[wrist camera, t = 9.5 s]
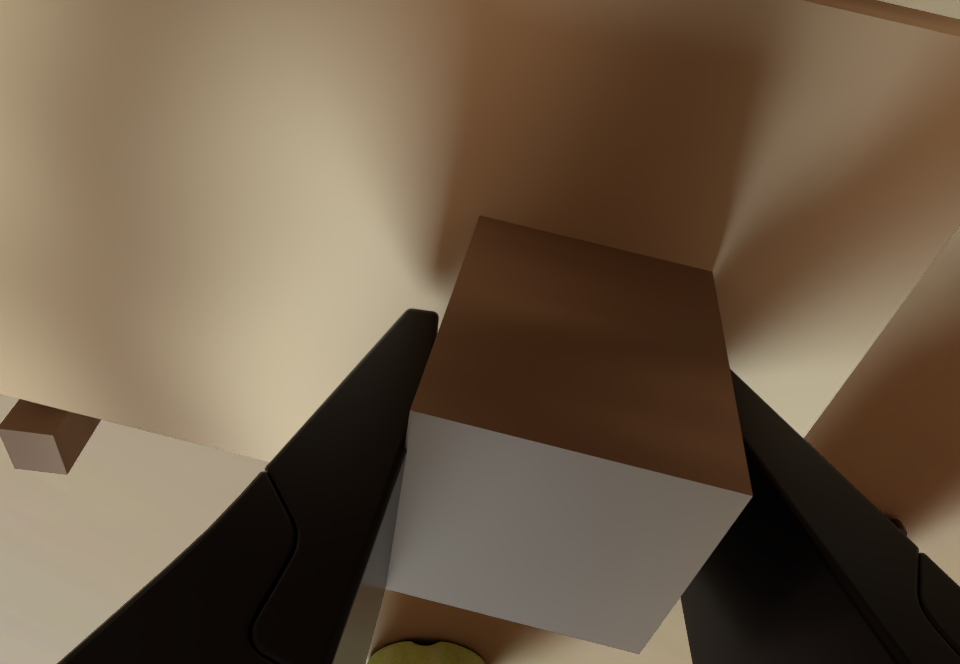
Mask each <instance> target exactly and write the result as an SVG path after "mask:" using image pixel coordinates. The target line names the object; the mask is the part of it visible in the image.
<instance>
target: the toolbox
mask: <svg viewBox="0 0 960 664" xmlns="http://www.w3.org/2000/svg"><path fill="white" fill-rule="evenodd" d="M100 421H101V419H97V418H93V417H89V416H85V415H81V414H77V413H73V412H69V411H66V410H62V409H58V408H54V407H50V406H46V405H42V404H38V403H34V402H30V401H26V400H22V399H19V401H18V402H17V403H16V405H15V406H14V407H13V408H12V410H11V411H10V412H9V414H8V415H7V416H6V418H5V419H4V420H3V422H2V423H1V424H0V436H1V438H2V441H3V443H4V445H5V448H6V450H7V452H8V454H9V457H10V459H11V461H12V463H13V466H14V468H15V469H23V470H32V471H40V472H49V473H57V474H65V475H67V474H68V473H69V471H70V469H71V468H72V466H73V464H74V463H75V461H76V460H77V458H78V456H79V455H80V453H81V451H82V450H83V448H84V447H85V445H86V443H87V442H88V440H89V438H90V437H91V435H92V434H93V432H94V430H95V429H96V427H97V425H98V424H99V422H100Z"/></svg>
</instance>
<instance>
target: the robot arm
mask: <svg viewBox="0 0 960 664" xmlns="http://www.w3.org/2000/svg"><path fill="white" fill-rule="evenodd" d="M438 323H439V315H438V313H436V312H434V311H428V310H422V309H415V308H409V309H407V310H406V311H405V312H404V313H403V314H402V315H401V316H400V317H399V319H398V320H397V321H396V322H395V323H394V324H393V325H392V326H391V327H390V329H389V330H388V331H387V332H386V333H385V334H384V335H383V336H382V337H381V339H380V340H379V341H378V342H377V343H376V344H375V345H374V346H373V348H372V349H371V350H370V351H369V352H368V353H367V354H366V355H365V356H364V358H363V359H362V360H361V361H360V362H359V363H358V364H357V365H356V367H355V368H354V369H353V370H352V371H351V372H350V373H349V374H348V375H347V377H346V378H345V379H344V380H343V381H342V382H341V383H340V384H339V385H338V387H337V388H336V389H335V390H334V391H333V392H332V393H331V394H330V396H329V397H328V398H327V399H326V400H325V401H324V402H323V403H322V404H321V406H320V407H319V408H318V409H317V410H316V411H315V412H314V413H313V415H312V416H311V417H310V418H309V419H308V420H307V421H306V422H305V423H304V425H303V426H302V427H301V428H300V429H299V430H298V431H297V432H296V434H295V435H294V436H293V437H292V438H291V439H290V440H289V441H288V442H287V444H286V445H285V446H284V447H283V448H282V449H281V450H280V451H279V452H278V454H277V455H276V456H275V457H274V458H273V459H272V460H271V461H270V463H269V464H268V465H267V466H266V467H265V472H264V471H262V472H260V473H259V474H258V475H257V477H256V478H255V479H254V480H253V481H252V482H251V483H250V484H249V486H248V487H247V488H246V489H245V490H244V491H243V492H242V493H241V495H240V496H239V497H238V498H237V499H236V500H235V501H234V502H233V503H232V504H231V505H230V506H229V507H228V508H227V509H226V510H225V511H224V512H223V513H222V514H221V515H220V516H219V518H218V519H217V520H216V521H215V522H214V523H213V524H212V525H211V526H210V527H209V528H208V529H207V530H206V531H205V532H204V533H203V534H202V535H201V536H199V537H198V538H197V539H196V540H195V541H194V542H193V543H192V544H191V545H190V546H189V547H188V548H187V549H185V550H184V551H183V552H182V553H181V554H180V555H179V556H178V557H177V558H176V559H175V560H174V561H173V562H171V563H170V564H169V565H168V566H167V567H166V568H165V569H164V570H163V571H161V572H160V573H159V574H158V575H157V576H156V577H155V578H154V579H152V580H151V581H150V582H149V583H148V584H147V585H146V586H144V587H143V588H142V589H141V590H140V591H139V592H138V593H137V594H135V595H134V596H133V597H132V598H131V599H130V600H129V601H127V602H126V603H125V604H124V605H123V606H122V607H121V608H120V609H118V610H117V611H116V612H115V613H114V614H113V615H112V616H110V617H109V618H108V619H107V620H106V621H105V622H104V623H103V624H101V625H100V626H99V627H98V628H97V629H96V630H95V631H93V632H92V633H91V634H90V635H89V636H88V637H87V638H86V639H84V640H83V641H82V642H81V643H80V644H79V645H78V646H77V647H75V648H74V649H73V650H72V651H71V652H70V653H69V654H67V655H66V656H65V657H64V658H63V659H62V660H61V661H60V662H58V663H57V664H365V663H366V659H367V655H368V652H369V648H370V644H371V640H372V637H373V633H374V629H375V626H376V622H377V618H378V614H379V611H380V607H381V603H382V599H383V596H384V592H385V588H386V583H387V576H388V570H389V563H390V557H391V551H392V544H393V538H394V531H395V525H396V519H397V512H398V506H399V499H400V493H401V487H402V480H403V474H404V467H405V461H406V455H407V450H406V449H405V448H404V447H405V440H406V433H407V427H408V420H409V414H410V409H411V406H412V403H413V401H414V398H415V395H416V392H417V389H418V387H419V384H420V381H421V378H422V375H423V373H424V370H425V367H426V364H427V361H428V359H429V356H430V353H431V350H432V347H433V345H434V342H435V339H436V336H437V333H438ZM730 372H731V377H732V383H733V388H734V394H735V400H736V405H737V411H738V416H739V422H740V427H741V433H742V438H743V444H744V450H745V455H746V461H747V466H748V472H749V477H750V483H751V489H752V494H753V497H752V498H751V499H750V501H749V502H748V504H747V505H746V506H745V508H744V509H743V511H742V512H741V513H740V515H739V516H738V518H737V519H736V520H735V522H734V523H733V524H732V526H731V527H730V529H729V530H728V531H727V533H726V534H725V536H724V537H723V538H722V540H721V541H720V543H719V544H718V545H717V547H716V548H715V550H714V551H713V552H712V554H711V555H710V556H709V558H708V559H707V561H706V562H705V563H704V565H703V566H702V568H701V569H700V570H699V572H698V573H697V575H696V576H695V577H694V579H693V580H692V582H691V583H690V584H689V586H688V587H687V588H686V590H685V591H684V593H683V594H682V595H681V602H682V608H683V613H684V619H685V624H686V630H687V635H688V641H689V646H690V652H691V657H692V663H693V664H960V586H959V585H957V584H956V583H955V582H954V581H953V580H952V579H951V578H950V577H949V576H948V575H947V574H946V573H945V572H944V571H943V570H942V569H940V568H939V567H938V566H937V565H936V564H935V563H934V562H933V561H932V560H931V559H930V558H929V557H928V556H927V555H926V554H924V553H919V549H918V547H917V546H916V545H915V544H914V543H913V542H912V541H911V540H910V539H909V538H908V537H907V531H906V529H905V528H904V526H903V524H902V522H901V521H899V520H896V519H889V518H887V517H886V516H885V515H884V514H882V513H881V512H880V511H879V510H878V509H877V508H876V507H875V506H874V505H873V504H872V503H871V502H870V501H869V500H868V499H867V498H866V497H865V496H864V495H863V494H861V493H860V492H859V491H858V490H857V489H856V488H855V487H854V486H853V485H852V484H851V483H850V482H849V481H848V480H847V479H846V478H845V477H844V476H843V475H842V474H840V473H839V472H838V471H837V470H836V469H835V468H834V467H833V466H832V465H831V464H830V463H829V462H828V461H827V460H826V459H825V458H824V457H823V456H822V455H821V454H819V453H818V452H817V451H816V450H815V449H814V448H813V447H812V446H811V445H810V444H809V443H808V442H807V441H806V440H805V439H804V438H803V437H802V436H801V435H799V434H798V433H797V432H796V431H795V430H794V429H793V428H792V427H791V426H790V425H789V424H788V423H787V422H786V421H785V420H784V419H783V418H782V417H781V416H780V415H778V414H777V413H776V412H775V411H774V410H773V409H772V408H771V407H770V406H769V405H768V404H767V403H766V402H765V401H764V400H763V399H762V398H761V397H760V396H759V395H757V394H756V393H755V392H754V391H753V390H752V389H751V388H750V387H749V386H748V385H747V384H746V383H745V382H744V381H743V380H742V379H741V378H740V377H739V376H737V375H736V374H735V373H734V372H733V371H732V370H731V369H730Z"/></svg>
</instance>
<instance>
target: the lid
mask: <svg viewBox="0 0 960 664" xmlns="http://www.w3.org/2000/svg"><path fill="white" fill-rule="evenodd" d="M959 226H960V19H955V18H951V17H947V16H942V15H938V14H933V13H929V12H925V11H920V10H916V9H912V8H907V7H903V6H899V5H894V4H890V3H886V2H881V1H877V0H0V394H2V395H6V396H10V397H14V398H18V399H22V400H26V401H30V402H34V403H38V404H42V405H46V406H50V407H54V408H58V409H62V410H66V411H69V412H73V413H77V414H81V415H85V416H89V417H93V418H97V419H101V420H105V421H109V422H113V423H117V424H121V425H125V426H129V427H133V428H137V429H140V430H144V431H148V432H152V433H156V434H160V435H164V436H168V437H172V438H176V439H180V440H184V441H188V442H192V443H196V444H200V445H204V446H208V447H211V448H215V449H219V450H223V451H227V452H231V453H235V454H239V455H243V456H247V457H251V458H255V459H259V460H263V461H267V462H270V461H271V460H272V459H273V458H274V457H275V456H276V455H277V454H278V452H279V451H280V450H281V449H282V448H283V447H284V446H285V445H286V444H287V442H288V441H289V440H290V439H291V438H292V437H293V436H294V435H295V434H296V432H297V431H298V430H299V429H300V428H301V427H302V426H303V425H304V423H305V422H306V421H307V420H308V419H309V418H310V417H311V416H312V415H313V413H314V412H315V411H316V410H317V409H318V408H319V407H320V406H321V404H322V403H323V402H324V401H325V400H326V399H327V398H328V397H329V396H330V394H331V393H332V392H333V391H334V390H335V389H336V388H337V387H338V385H339V384H340V383H341V382H342V381H343V380H344V379H345V378H346V377H347V375H348V374H349V373H350V372H351V371H352V370H353V369H354V368H355V367H356V365H357V364H358V363H359V362H360V361H361V360H362V359H363V358H364V356H365V355H366V354H367V353H368V352H369V351H370V350H371V349H372V348H373V346H374V345H375V344H376V343H377V342H378V341H379V340H380V339H381V337H382V336H383V335H384V334H385V333H386V332H387V331H388V330H389V329H390V327H391V326H392V325H393V324H394V323H395V322H396V321H397V320H398V319H399V317H400V316H401V315H402V314H403V313H404V312H405V311H406V310H407V309H409V308H415V309H422V310H428V311H434V312H436V313H438V315H439V323H438V333H437V336H436V339H435V342H434V345H433V347H432V350H431V353H430V356H429V359H428V361H427V364H426V367H425V370H424V373H423V375H422V378H421V381H420V384H419V387H418V389H417V392H416V395H415V398H414V401H413V403H412V406H411V409H410V414H409V420H408V427H407V433H406V440H405V447H404V448H405V449H406V450H407V455H406V461H405V467H404V474H403V480H402V487H401V493H400V499H399V506H398V512H397V519H396V525H395V531H394V538H393V544H392V551H391V557H390V563H389V570H388V576H387V583H386V588H385V589H388V590H391V591H395V592H399V593H403V594H407V595H411V596H415V597H419V598H423V599H426V600H430V601H434V602H438V603H442V604H446V605H450V606H454V607H457V608H461V609H465V610H469V611H473V612H477V613H481V614H485V615H489V616H492V617H496V618H500V619H504V620H508V621H512V622H516V623H520V624H524V625H527V626H531V627H535V628H539V629H543V630H547V631H551V632H555V633H559V634H562V635H566V636H570V637H574V638H578V639H582V640H586V641H590V642H594V643H597V644H601V645H605V646H609V647H613V648H617V649H621V650H625V651H629V652H632V653H636V654H640V652H641V651H642V650H643V648H644V647H645V645H646V644H647V643H648V641H649V640H650V639H651V637H652V636H653V634H654V633H655V632H656V630H657V629H658V627H659V626H660V625H661V623H662V622H663V620H664V619H665V618H666V616H667V615H668V613H669V612H670V611H671V609H672V608H673V607H674V605H675V604H676V602H677V601H678V600H679V598H680V597H681V595H682V594H683V593H684V591H685V590H686V588H687V587H688V586H689V584H690V583H691V582H692V580H693V579H694V577H695V576H696V575H697V573H698V572H699V570H700V569H701V568H702V566H703V565H704V563H705V562H706V561H707V559H708V558H709V556H710V555H711V554H712V552H713V551H714V550H715V548H716V547H717V545H718V544H719V543H720V541H721V540H722V538H723V537H724V536H725V534H726V533H727V531H728V530H729V529H730V527H731V526H732V524H733V523H734V522H735V520H736V519H737V518H738V516H739V515H740V513H741V512H742V511H743V509H744V508H745V506H746V505H747V504H748V502H749V501H750V499H751V498H752V497H753V494H752V489H751V483H750V477H749V472H748V466H747V461H746V455H745V450H744V444H743V438H742V433H741V427H740V422H739V416H738V411H737V405H736V400H735V394H734V388H733V383H732V377H731V372H730V369H731V370H732V371H733V372H734V373H735V374H736V375H737V376H739V377H740V378H741V379H742V380H743V381H744V382H745V383H746V384H747V385H748V386H749V387H750V388H751V389H752V390H753V391H754V392H755V393H756V394H757V395H759V396H760V397H761V398H762V399H763V400H764V401H765V402H766V403H767V404H768V405H769V406H770V407H771V408H772V409H773V410H774V411H775V412H776V413H777V414H778V415H780V416H781V417H782V418H783V419H784V420H785V421H786V422H787V423H788V424H789V425H790V426H791V427H792V428H793V429H794V430H795V431H796V432H797V433H798V434H799V435H801V436H802V437H803V438H804V437H805V436H806V435H807V433H808V432H809V431H810V429H811V428H812V426H813V425H814V424H815V422H816V421H817V420H818V418H819V417H820V415H821V414H822V413H823V411H824V410H825V409H826V407H827V406H828V405H829V403H830V402H831V400H832V399H833V398H834V396H835V395H836V394H837V392H838V391H839V390H840V388H841V387H842V385H843V384H844V383H845V381H846V380H847V379H848V377H849V376H850V375H851V373H852V372H853V370H854V369H855V368H856V366H857V365H858V364H859V362H860V361H861V360H862V358H863V357H864V355H865V354H866V353H867V351H868V350H869V349H870V347H871V346H872V345H873V343H874V342H875V340H876V339H877V338H878V336H879V335H880V334H881V332H882V331H883V330H884V328H885V327H886V325H887V324H888V323H889V321H890V320H891V319H892V317H893V316H894V315H895V313H896V312H897V310H898V309H899V308H900V306H901V305H902V304H903V302H904V301H905V299H906V298H907V297H908V295H909V294H910V293H911V291H912V290H913V289H914V287H915V286H916V284H917V283H918V282H919V280H920V279H921V278H922V276H923V275H924V274H925V272H926V271H927V269H928V268H929V267H930V265H931V264H932V263H933V261H934V260H935V259H936V257H937V256H938V254H939V253H940V252H941V250H942V249H943V248H944V246H945V245H946V244H947V242H948V241H949V239H950V238H951V237H952V235H953V234H954V233H955V231H956V230H957V229H958V227H959Z"/></svg>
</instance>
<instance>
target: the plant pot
mask: <svg viewBox="0 0 960 664" xmlns="http://www.w3.org/2000/svg"><path fill="white" fill-rule="evenodd" d="M368 664H485V663H484V661H483V660H482V658H481V657H479V656H478V655H477V654H476V653H474V652H473V651H471V650H469V649H467V648H464V647H462V646H459V645H457V644H453V643H449V642H438V643H436V644H433V645H429V646H421V645H418V644H415V643H413V642H412V641H403V642H398V643H395V644H392V645H389V646H386V647H384V648H382V649H380V650H378V651H377V652H375V653H374V654H373V655H372V656H371V658H370V659H369V661H368Z"/></svg>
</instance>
